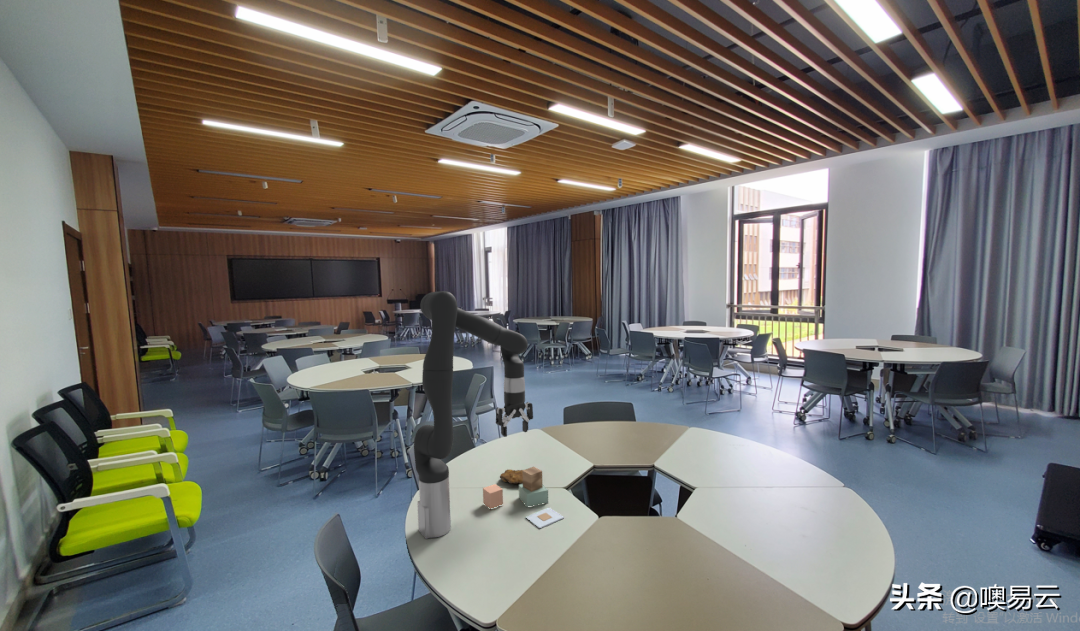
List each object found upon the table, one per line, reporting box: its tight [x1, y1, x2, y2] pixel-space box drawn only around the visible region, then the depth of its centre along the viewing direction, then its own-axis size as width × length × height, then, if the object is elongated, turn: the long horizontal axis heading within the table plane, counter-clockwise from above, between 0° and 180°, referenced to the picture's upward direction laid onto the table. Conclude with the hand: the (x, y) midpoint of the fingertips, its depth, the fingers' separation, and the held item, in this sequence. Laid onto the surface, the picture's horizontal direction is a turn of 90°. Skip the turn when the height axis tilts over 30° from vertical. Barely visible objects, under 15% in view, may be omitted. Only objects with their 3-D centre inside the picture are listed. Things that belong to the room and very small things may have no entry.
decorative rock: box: [499, 469, 523, 485], centre depth 170 cm, size 11×4×15 cm
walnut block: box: [521, 466, 544, 492], centre depth 155 cm, size 5×5×6 cm
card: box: [524, 506, 565, 529], centre depth 143 cm, size 10×8×1 cm
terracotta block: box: [482, 483, 504, 509], centre depth 152 cm, size 5×5×6 cm
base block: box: [518, 483, 549, 508], centre depth 155 cm, size 8×8×5 cm
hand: (514, 433), depth 156 cm, fingers open, 8 cm apart
